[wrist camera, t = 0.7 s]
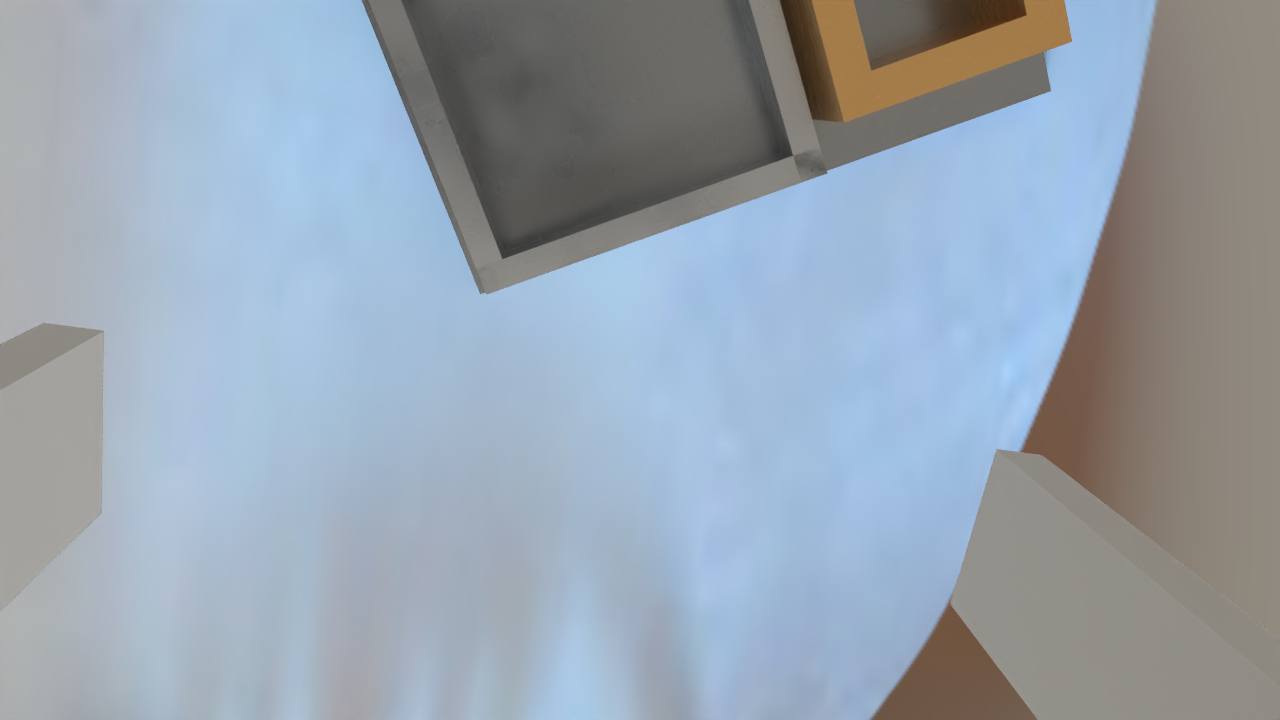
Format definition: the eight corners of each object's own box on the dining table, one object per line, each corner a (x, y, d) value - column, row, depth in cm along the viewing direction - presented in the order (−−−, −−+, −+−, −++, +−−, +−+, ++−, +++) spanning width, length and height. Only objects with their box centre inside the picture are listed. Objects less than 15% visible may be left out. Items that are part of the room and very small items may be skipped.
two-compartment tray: (356, -24, 33) (323, -44, 28) (969, -245, 33) (1040, -302, 28) (482, 288, 36) (470, 318, 32) (1037, 90, 36) (1111, 90, 31)
